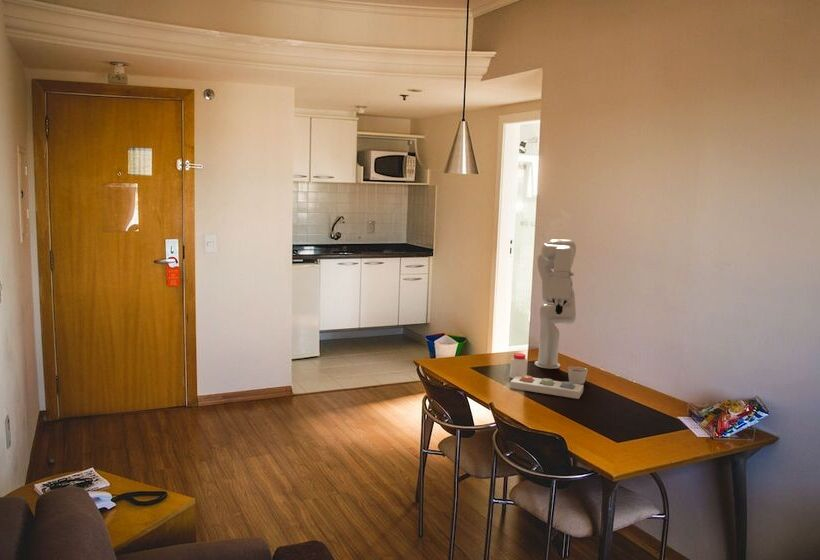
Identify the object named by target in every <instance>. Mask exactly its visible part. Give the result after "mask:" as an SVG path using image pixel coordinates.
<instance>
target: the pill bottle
mask: <svg viewBox="0 0 820 560" xmlns="http://www.w3.org/2000/svg"><path fill="white" fill-rule="evenodd" d="M528 361H529V360H528V359H527V358H526V354H525V353H521V352H520V353H519V352H517V353H513V357H512V358H510V367H509V378H510V379H511V380H513V379H514V378H515V377H516V376H517V375H520V376H524V375H527V373H528V363H529V362H528ZM527 376H528V375H527Z"/></svg>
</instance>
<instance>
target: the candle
mask: <svg viewBox="0 0 820 560" xmlns="http://www.w3.org/2000/svg"><path fill="white" fill-rule="evenodd" d="M588 371H589V370H588V368H586V367H583V366H577V365H575V366H571V365H570V366H568V367H567V373H568V376H567V377H568V382H572V383H574V384H580V385H584V384H585V382H586V378H587V374H588Z"/></svg>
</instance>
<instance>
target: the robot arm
mask: <svg viewBox="0 0 820 560" xmlns="http://www.w3.org/2000/svg"><path fill="white" fill-rule="evenodd" d="M576 253H577V245H576V242H575V241H574V240H572V239H563V238H562V239H561V238H559V239H558V238H555V239H554V238H553V239H552V238H551V239H550V240H549V241H547V242H545V243H543V244H542V246H541V253H540V254H539V255H538V256H537V270H538V272H539V276H540V278H541V286H542V287H541V288H542V289H541V290H542V291H541V292H542V294H541V295H542V301H543V302H544V304H542V305H541V306H540V308H539V319H540V326H539V327H540V329H539V341H538V355H537V356H538V357H537V360H536V361H534V366H536V367H538V368H541V369H547V370H549V369H550V370H553V369H554V370H555V369H559V368H561V364H560V363H559V362H558V358H559V345H560V330H559V328H558V327H557V326H556V324H565V325H572V324H573V323H574V322H575V321H576V319H577V317H576V316H577V314H576V313H577V311H576V295H575V291H574V288H573V278H572V277H574V275H575V273H574V272H572V271H571V270H572V267H573V264H574V259H575V257H576Z"/></svg>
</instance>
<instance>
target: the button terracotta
mask: <svg viewBox="0 0 820 560" xmlns="http://www.w3.org/2000/svg"><path fill="white" fill-rule="evenodd" d="M521 381H523V382H530V383H533V376H532V375H524V376H522V377H521Z"/></svg>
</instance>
